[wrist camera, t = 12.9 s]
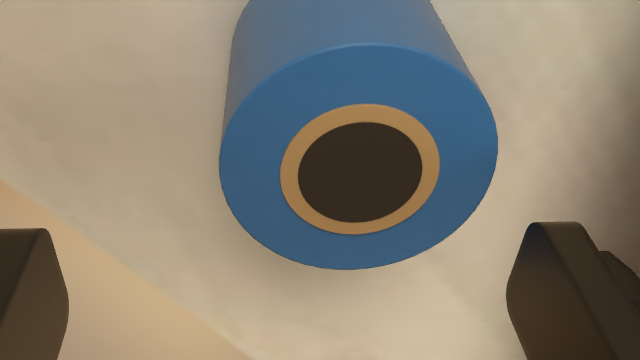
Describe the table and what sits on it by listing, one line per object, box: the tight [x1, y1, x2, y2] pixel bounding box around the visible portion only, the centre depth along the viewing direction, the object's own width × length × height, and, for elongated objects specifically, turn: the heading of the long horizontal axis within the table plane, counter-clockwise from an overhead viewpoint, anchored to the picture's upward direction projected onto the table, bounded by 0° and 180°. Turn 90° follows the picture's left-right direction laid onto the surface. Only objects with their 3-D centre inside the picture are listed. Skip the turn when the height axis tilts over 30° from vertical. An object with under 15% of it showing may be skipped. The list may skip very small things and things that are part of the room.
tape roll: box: [219, 0, 498, 270], centre depth 14 cm, size 6×6×5 cm
